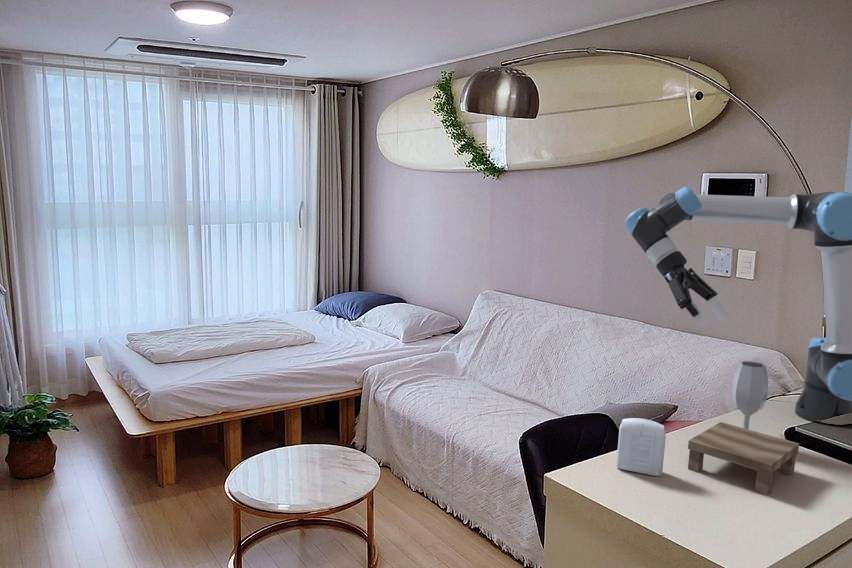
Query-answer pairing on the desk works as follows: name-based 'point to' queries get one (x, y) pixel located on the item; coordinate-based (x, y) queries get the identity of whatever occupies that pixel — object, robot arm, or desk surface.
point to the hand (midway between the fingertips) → (716, 322)
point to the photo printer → (641, 446)
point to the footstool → (744, 452)
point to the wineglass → (750, 388)
